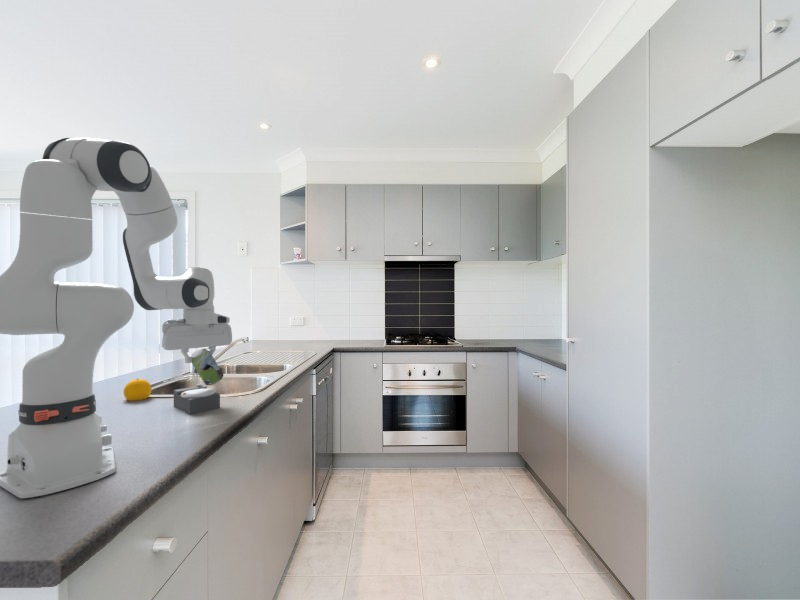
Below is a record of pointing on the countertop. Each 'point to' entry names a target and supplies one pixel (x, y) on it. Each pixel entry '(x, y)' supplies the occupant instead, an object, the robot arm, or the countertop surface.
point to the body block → (196, 399)
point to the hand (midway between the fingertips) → (198, 361)
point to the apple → (137, 390)
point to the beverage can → (206, 367)
